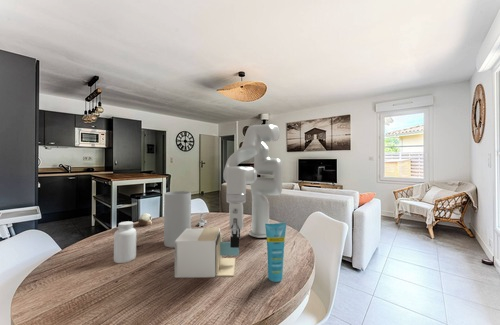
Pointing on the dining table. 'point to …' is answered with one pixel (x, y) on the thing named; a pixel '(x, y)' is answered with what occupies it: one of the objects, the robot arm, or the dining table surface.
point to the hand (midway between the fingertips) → (235, 242)
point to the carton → (201, 254)
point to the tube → (275, 250)
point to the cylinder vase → (176, 215)
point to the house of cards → (202, 221)
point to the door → (227, 248)
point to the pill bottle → (125, 242)
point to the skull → (144, 220)
